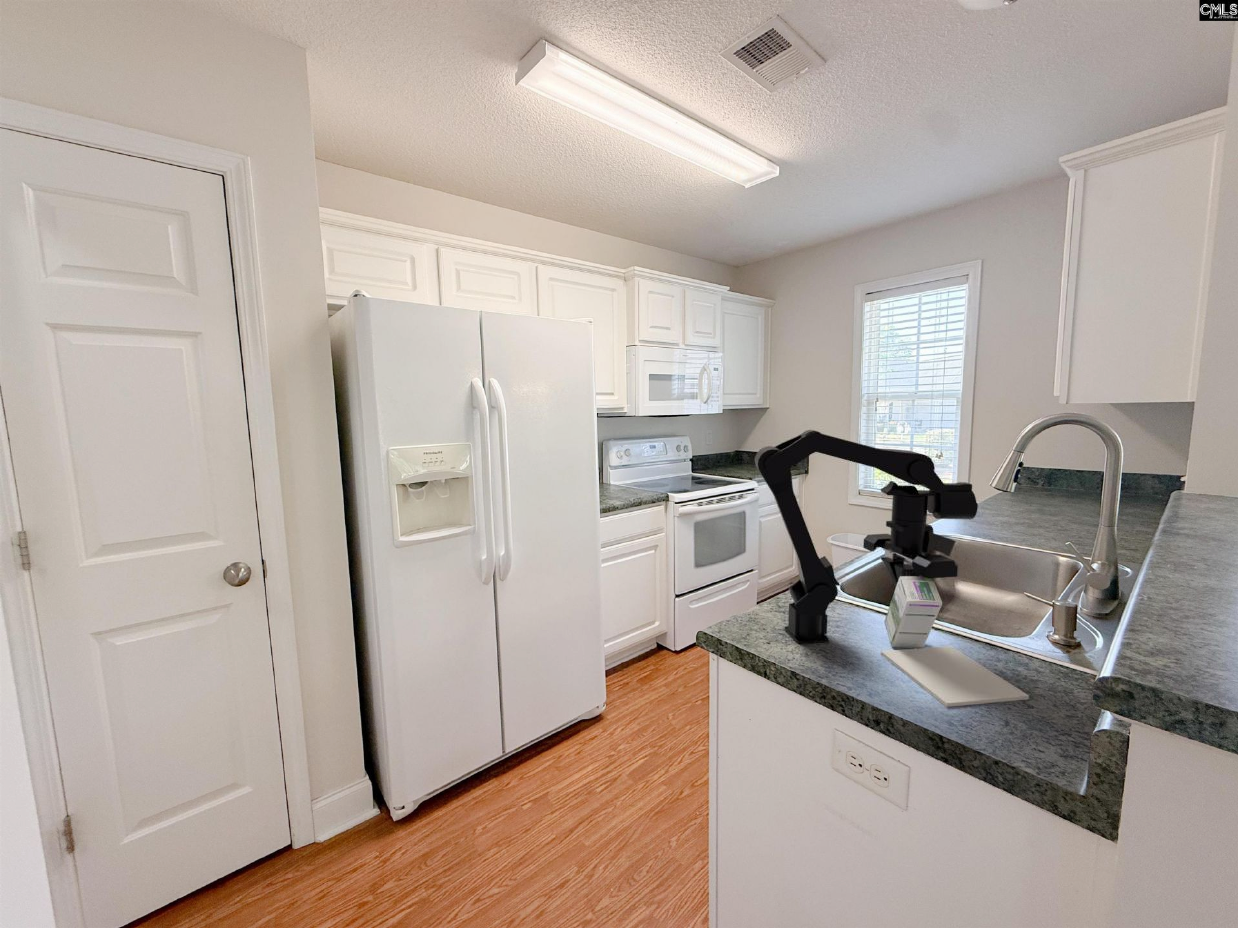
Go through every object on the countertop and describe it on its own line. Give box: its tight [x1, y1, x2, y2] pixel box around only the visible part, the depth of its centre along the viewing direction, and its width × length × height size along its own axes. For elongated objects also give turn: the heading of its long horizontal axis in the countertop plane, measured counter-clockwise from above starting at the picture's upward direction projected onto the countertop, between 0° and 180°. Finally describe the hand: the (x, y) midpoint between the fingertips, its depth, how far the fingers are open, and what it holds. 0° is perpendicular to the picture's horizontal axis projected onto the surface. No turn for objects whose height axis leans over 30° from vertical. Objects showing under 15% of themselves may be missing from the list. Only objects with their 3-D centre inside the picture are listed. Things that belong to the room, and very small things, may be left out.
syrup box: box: [884, 576, 943, 649], centre depth 92 cm, size 6×6×14 cm
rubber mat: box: [880, 645, 1030, 708], centre depth 85 cm, size 14×16×1 cm
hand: (904, 597), depth 96 cm, fingers closed
